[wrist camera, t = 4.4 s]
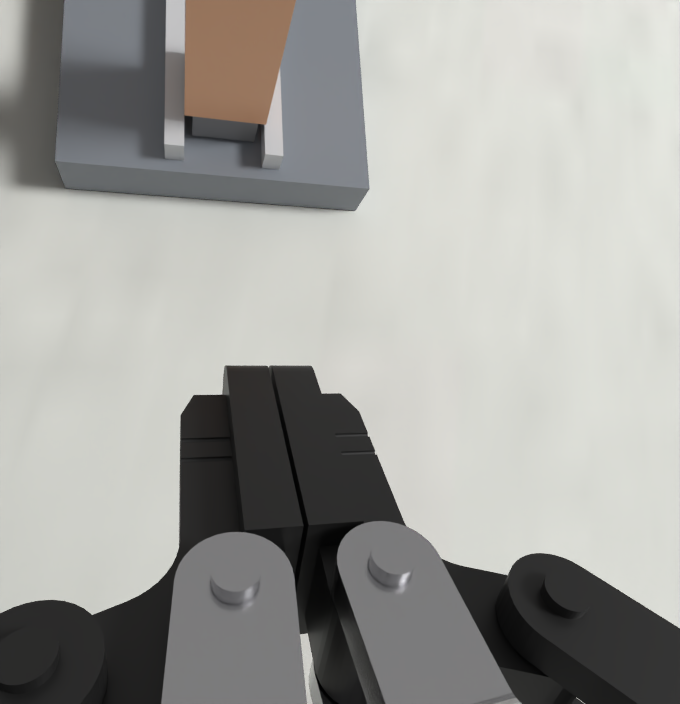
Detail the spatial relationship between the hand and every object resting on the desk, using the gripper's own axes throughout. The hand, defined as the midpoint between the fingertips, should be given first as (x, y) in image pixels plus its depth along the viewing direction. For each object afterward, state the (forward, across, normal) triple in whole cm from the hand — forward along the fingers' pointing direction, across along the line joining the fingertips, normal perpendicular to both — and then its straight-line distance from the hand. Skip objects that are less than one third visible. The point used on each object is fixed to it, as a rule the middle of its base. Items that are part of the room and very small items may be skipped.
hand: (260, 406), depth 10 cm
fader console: (+22, 0, -4) cm, 22 cm away
